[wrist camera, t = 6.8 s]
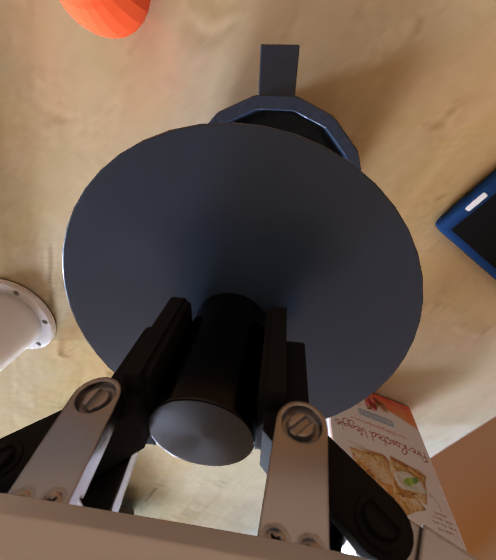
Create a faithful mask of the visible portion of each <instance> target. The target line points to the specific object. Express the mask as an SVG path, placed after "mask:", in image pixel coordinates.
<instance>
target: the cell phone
mask: <svg viewBox="0 0 496 560" xmlns="http://www.w3.org/2000/svg"><path fill="white" fill-rule="evenodd" d="M436 227H437V228H438V229H439V230H440V231H441V232H442V233H443V234H444V235H445V236H446V237H447V238H449V239H450V240H451V241H452V242H453V243H454V244H456V245H457V246H458V247H459V248H460V249H461V250H462V251H464V252H465V253H466V254H467V255H468V256H469V257H470V258H472V259H473V260H474V261H475V262H476V263H477V264H478V265H480V266H481V267H482V268H483V269H484V270H485V271H486V272H488V273H489V274H490V275H491V276H492V277H493V278H494V279H496V170H494V171H493V172H492V173H491V174H489V175H488V176H487V177H486V178H485V179H484V180H482V181H481V182H480V183H479V184H478V185H477V186H476V187H474V188H473V189H472V190H471V191H470V192H469V193H467V194H466V195H465V196H464V197H463V198H462V199H461V200H459V201H458V202H457V203H456V204H455V205H454V206H452V207H451V208H450V209H449V210H448V211H447V212H445V213H444V214H443V215H442V216H441V217H440V218H439V219H438V220H437V222H436Z"/></svg>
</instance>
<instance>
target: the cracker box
mask: <svg viewBox="0 0 496 560" xmlns="http://www.w3.org/2000/svg"><path fill="white" fill-rule="evenodd" d="M326 421H327V427H328V436H329V437H330V438H331V439H333V440H334V441H335V442H336V443H337V444H338V445H339V446H340V447H341V448H342V449H343V450H344V451H345V452H346V453H347V454H348V455H349V456H350V457H351V458H352V459H353V460H354V461H355V462H356V463H357V464H358V465H359V466H361V467H362V468H363V469H364V470H365V471H366V472H367V473H368V474H369V475H370V476H371V477H372V478H373V479H374V480H375V481H376V482H377V483H378V484H379V485H380V486H381V487H382V488H383V489H384V490H385V491H386V492H387V493H389V494H390V495H391V496H392V497H393V498H394V499H395V500H396V501H397V503H398V504H399V505H400V506H401V507H402V509H403V510H404V512H405V513H406V515H407V517H408V519H410V520H411V521H413V522H414V523H416V524H417V525H419V526H420V527H422V525H423V524H424V525H426V526H427V527H429V528H430V529H432V530H434V531H435V532H437V533H438V534H440V535H441V536H443V537H444V538H446V539H447V540H449V541H450V542H452V543H453V544H455V545H456V546H458V547H459V548H461V549H463V550H464V551H466V552H467V550H466V547H465V545H464V542H463V540H462V537H461V535H460V532H459V530H458V528H457V525H456V523H455V520H454V518H453V515H452V513H451V510H450V508H449V505H448V503H447V500H446V498H445V495H444V493H443V490H442V488H441V485H440V483H439V480H438V478H437V475H436V473H435V470H434V468H433V465H432V463H431V460H430V458H429V455H428V453H427V450H426V448H425V445H424V443H423V440H422V438H421V435H420V433H419V430H418V428H417V425H416V423H415V420H414V418H413V416H412V413H411V411H410V408H409V407H408V406H405V405H402V404H399V403H397V402H394V401H392V400H389V399H387V398H384V397H382V396H379V395H377V394H374V393H372V394H371V395H370V396H369V397H367V398H366V399H364V400H363V401H361V402H360V403H358V404H356V405H355V406H353V407H352V408H350V409H348V410H346V411H343V412H341V413H339V414H337V415H335V416H332V417H330V418H327V419H326ZM467 553H468V552H467Z"/></svg>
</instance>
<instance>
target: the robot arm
mask: <svg viewBox="0 0 496 560" xmlns="http://www.w3.org/2000/svg"><path fill="white" fill-rule="evenodd" d="M192 322H193V320H192V308H191V303H190V302H187V300H186V298H180V297H171V298H170V299H169V301H168V302H167V304H166V305H165V307H164V308H163V310H162V311H161V313H160V314H159V316H158V317H157V319H156V320H155V322H154V323H153V325H152V327H147V328H145V330H144V331H143V332H142V334H141V335H140V337H139V338H138V340H137V341H136V342H135V344H134V345H133V347H132V348H131V350H130V351H129V353H128V354H127V356H126V357H125V358H124V360H123V361H122V363H121V364H120V366H119V367H118V369H117V370H116V372H115V373H114V374H113V376H112V377H111V378H109V377H102V378H97V379H93V380H91V381H89V382H87V383H85V384H83V385H82V386H81V387H79V388H78V389H77V390H76V391H75V392H74V394H73V395H72V396H71V398H70V399H69V401H68V402H67V404H66V405H65V407H64V408H63V410H61V411H59V412H56V413H54V414H52V415H50V416H48V417H46V418H44V419H41V420H39V421H37V422H35V423H33V424H31V425H29V426H26V427H24V428H22V429H20V430H18V431H16V432H14V433H12V434H9V435H7V436H5V437H3V438H1V439H0V560H478V559H476V558H475V557H473V556H472V555H470V554H468V553H467V552H466V551H464V550H463V549H461V548H459V547H458V546H456V545H455V544H453V543H452V542H450V541H449V540H447V539H446V538H444V537H443V536H441V535H440V534H438V533H437V532H435V531H434V530H432V529H430V528H429V527H427V526H426V525H424V524H423V525H422V527H420V526H419V525H417V524H416V523H414V522H413V521H411V520H410V519H408V517H407V515H406V513H405V512H404V510H403V509H402V507H401V506H400V505H399V504H398V503H397V501H396V500H395V499H394V498H393V497H392V496H391V495H390V494H389V493H387V492H386V491H385V490H384V489H383V488H382V487H381V486H380V485H379V484H378V483H377V482H376V481H375V480H374V479H373V478H372V477H371V476H370V475H369V474H368V473H367V472H366V471H365V470H364V469H363V468H362V467H361V466H359V465H358V464H357V463H356V462H355V461H354V460H353V459H352V458H351V457H350V456H349V455H348V454H347V453H346V452H345V451H344V450H343V449H342V448H341V447H340V446H339V445H338V444H337V443H336V442H335V441H334V440H333V439H331V438H330V437H329V436H328V427H327V421H326V419H325V417H324V415H323V414H322V413H321V412H320V411H319V410H318V408H316V407H315V406H313V405H312V404H310V403H309V395H308V381H307V367H306V353H305V344H304V343H301V342H291V341H287V307H278V306H273V310H270V309H267V317H266V326H265V335H264V343H263V352H262V361H261V370H260V379H259V389H258V403H257V429H256V439H255V449H260V450H261V455H260V466H261V467H262V468H263V470H264V471H265V472H266V474H267V479H266V485H265V492H264V498H263V504H262V511H261V517H260V523H259V529H258V536H252V535H247V534H241V533H235V532H230V531H224V530H218V529H213V528H207V527H201V526H196V525H190V524H184V523H178V522H172V521H166V520H160V519H155V518H149V517H143V516H137V515H131V514H125V513H119V512H118V511H119V508H120V505H121V503H122V500H123V497H124V494H125V491H126V488H127V485H128V482H129V479H130V477H131V474H132V471H133V468H134V465H135V462H136V459H137V456H138V451H140V450H141V449H143V448H144V447H145V445H146V444H152V445H156V442H155V440H154V439H153V438H152V436H151V434H150V433H149V430H148V425H147V421H148V415H149V413H150V411H151V408H152V406H153V404H154V402H155V400H156V398H157V396H158V394H159V392H160V389H161V387H162V385H163V383H164V381H165V379H166V377H167V375H168V373H169V371H170V368H171V366H172V364H173V362H174V360H175V358H176V356H177V354H178V352H179V349H180V347H181V345H182V343H183V341H184V339H185V337H186V335H187V333H188V330H189V328H190V326H191V324H192ZM55 333H56V324H55V321H54V318H53V316H52V314H51V312H50V310H49V309H48V308H47V306H46V305H45V304H44V303H43V302H42V301H41V300H40V299H39V298H38V297H37V296H36V295H35V294H33V293H32V292H31V291H29V290H28V289H26V288H24V287H22V286H20V285H18V284H16V283H13V282H11V281H8V280H2V279H0V371H1V370H2V369H4V368H5V367H6V366H7V365H8V364H9V363H11V362H12V361H13V360H14V359H15V358H16V357H17V356H19V355H20V354H21V353H22V352H23V351H24V350H26V349H37V348H41V347H44V346H45V345H47V344H48V343H49V342H50V341H51V340H52V339H53V338H54V336H55Z"/></svg>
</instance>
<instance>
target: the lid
mask: <svg viewBox="0 0 496 560" xmlns="http://www.w3.org/2000/svg"><path fill="white" fill-rule="evenodd" d="M62 270H63V277H64V285H65V290H66V294H67V297H68V301H69V305H70V308H71V310H72V312H73V315H74V317H75V319H76V322H77V324H78V326H79V327H80V329H81V331H82V333H83V335H84V336H85V338H86V340H87V341H88V342H89V344H90V345H91V347H92V348H93V349H94V351H95V352H96V354H97V355H98V356H99V357H100V358H101V359H102V360H103V362H104V363H105V364H106V365H107V366H108V367H109V368H110V369H111V370H112V371H113V372H114V373H115V372H116V370H117V369H118V367H119V366H120V364H121V363H122V361H123V360H124V358H125V357H126V356H127V354H128V353H129V351H130V350H131V348H132V347H133V345H134V344H135V342H136V341H137V340H138V338H139V337H140V335H141V334H142V332H143V331H144V330H145V328H147V327H152V325H153V323H154V322H155V320H156V319H157V317H158V316H159V314H160V313H161V311H162V310H163V308H164V307H165V305H166V304H167V302H168V301H169V299H170V298H171V297H180V298H186V300H187V302H190V303H191V308H192V320H193V322H192V324H191V326H190V328H189V330H188V333H187V335H186V337H185V339H184V341H183V343H182V345H181V347H180V349H179V352H178V354H177V356H176V358H175V360H174V362H173V364H172V366H171V368H170V371H169V373H168V375H167V377H166V379H165V381H164V383H163V385H162V387H161V389H160V392H159V394H158V396H157V398H156V400H155V402H154V404H153V406H152V408H151V411H150V413H149V415H148V421H147V425H148V430H149V433H150V434H151V436H152V438H153V439H154V440H155V442H156V443H157V444H158V445H159V446H160V447H162V448H163V449H164V450H166V451H167V452H169V453H170V454H172V455H174V456H176V457H178V458H180V459H182V460H185V461H188V462H191V463H195V464H200V465H207V466H224V465H230V464H234V463H237V462H239V461H241V460H243V459H245V458H246V457H247V456H248V455H249V454H250V453H251V451H252V450H253V448H254V445H255V439H256V429H257V403H258V389H259V379H260V370H261V361H262V352H263V343H264V335H265V326H266V317H267V309H270V310H273V306H278V307H287V341H291V342H301V343H304V344H305V353H306V367H307V381H308V395H309V403H310V404H312V405H313V406H315V407H316V408H318V410H319V411H320V412H321V413H322V414H323V415H324V417H325V419H327V418H330V417H332V416H335V415H337V414H339V413H341V412H343V411H346V410H348V409H350V408H352V407H353V406H355V405H356V404H358V403H360V402H361V401H363V400H364V399H366V398H367V397H369V396H370V395H371V394H372V393H374V392H375V391H376V390H377V389H379V388H380V387H381V386H382V385H383V384H384V383H385V382H386V381H387V380H388V379H389V378H390V377H391V375H392V374H393V373H394V372H395V371H396V369H397V368H398V367H399V365H400V364H401V362H402V361H403V360H404V358H405V356H406V354H407V353H408V351H409V349H410V347H411V345H412V343H413V341H414V338H415V335H416V332H417V329H418V326H419V322H420V318H421V311H422V304H423V276H422V271H421V266H420V261H419V256H418V252H417V249H416V247H415V244H414V242H413V239H412V237H411V234H410V232H409V229H408V227H407V226H406V224H405V222H404V221H403V219H402V217H401V216H400V214H399V212H398V211H397V209H396V207H395V206H394V205H393V203H392V202H391V201H390V200H389V199H388V197H387V196H386V195H385V194H384V193H383V192H382V190H381V189H380V188H379V187H378V186H377V185H376V183H374V182H373V181H372V180H371V179H370V178H369V177H367V176H366V175H365V174H364V173H363V172H362V171H360V170H359V169H358V168H357V167H356V166H355V165H353V164H352V163H351V162H349V161H347V160H346V159H344V158H343V157H341V156H339V155H338V154H336V153H335V152H333V151H331V150H330V149H328V148H327V147H325V146H323V145H321V144H318V143H316V142H314V141H311V140H309V139H307V138H304V137H302V136H300V135H297V134H295V133H291V132H287V131H283V130H279V129H276V128H272V127H268V126H263V125H253V124H244V123H235V122H233V123H211V124H197V125H193V126H188V127H183V128H178V129H173V130H169V131H166V132H164V133H161V134H158V135H156V136H153V137H150V138H148V139H145V140H143V141H141V142H139V143H138V144H136V145H134V146H132V147H131V148H129V149H127V150H126V151H124V152H122V153H120V154H119V155H118V156H117V157H116V158H114V159H113V160H112V161H111V162H110V163H108V164H107V165H106V166H105V167H104V168H102V169H101V170H100V171H99V173H98V174H97V175H96V176H95V177H94V179H93V180H92V181H91V182H90V183H89V184H88V186H87V187H86V188H85V190H84V191H83V193H82V195H81V197H80V198H79V200H78V202H77V204H76V205H75V207H74V209H73V212H72V215H71V217H70V220H69V223H68V226H67V228H66V234H65V239H64V245H63V262H62Z"/></svg>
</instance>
